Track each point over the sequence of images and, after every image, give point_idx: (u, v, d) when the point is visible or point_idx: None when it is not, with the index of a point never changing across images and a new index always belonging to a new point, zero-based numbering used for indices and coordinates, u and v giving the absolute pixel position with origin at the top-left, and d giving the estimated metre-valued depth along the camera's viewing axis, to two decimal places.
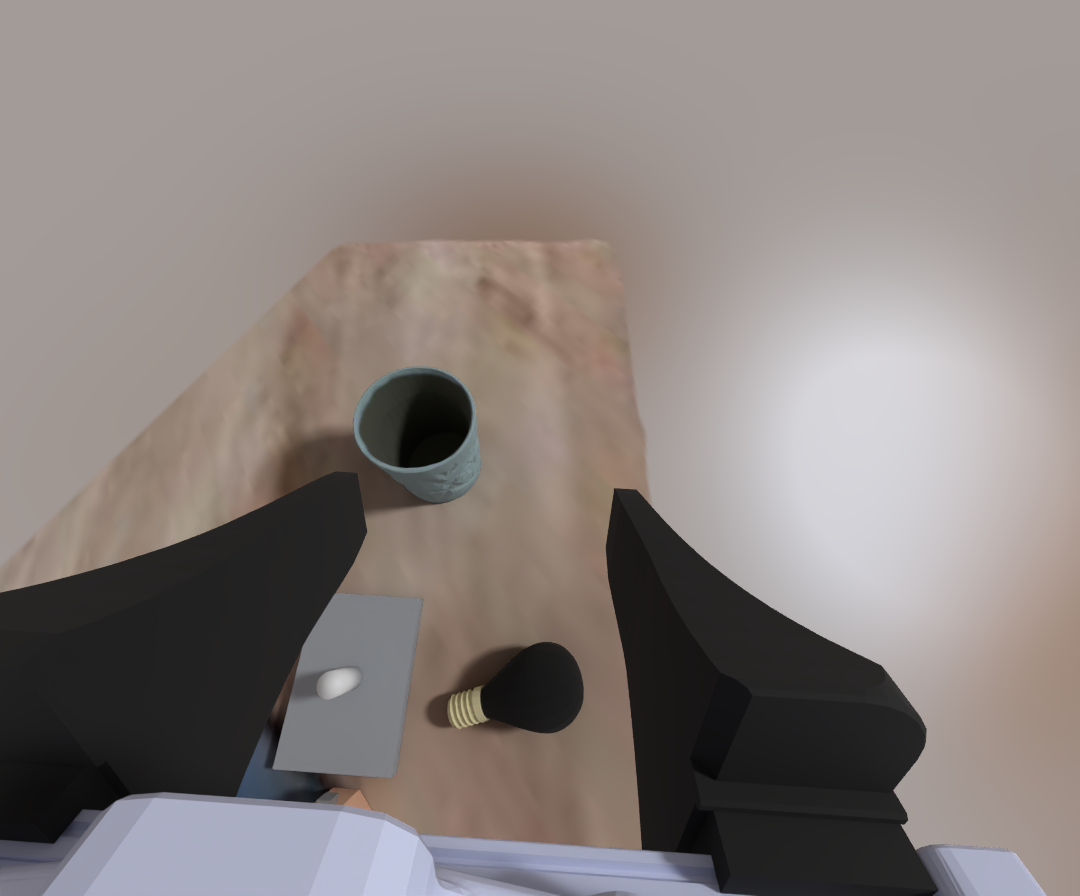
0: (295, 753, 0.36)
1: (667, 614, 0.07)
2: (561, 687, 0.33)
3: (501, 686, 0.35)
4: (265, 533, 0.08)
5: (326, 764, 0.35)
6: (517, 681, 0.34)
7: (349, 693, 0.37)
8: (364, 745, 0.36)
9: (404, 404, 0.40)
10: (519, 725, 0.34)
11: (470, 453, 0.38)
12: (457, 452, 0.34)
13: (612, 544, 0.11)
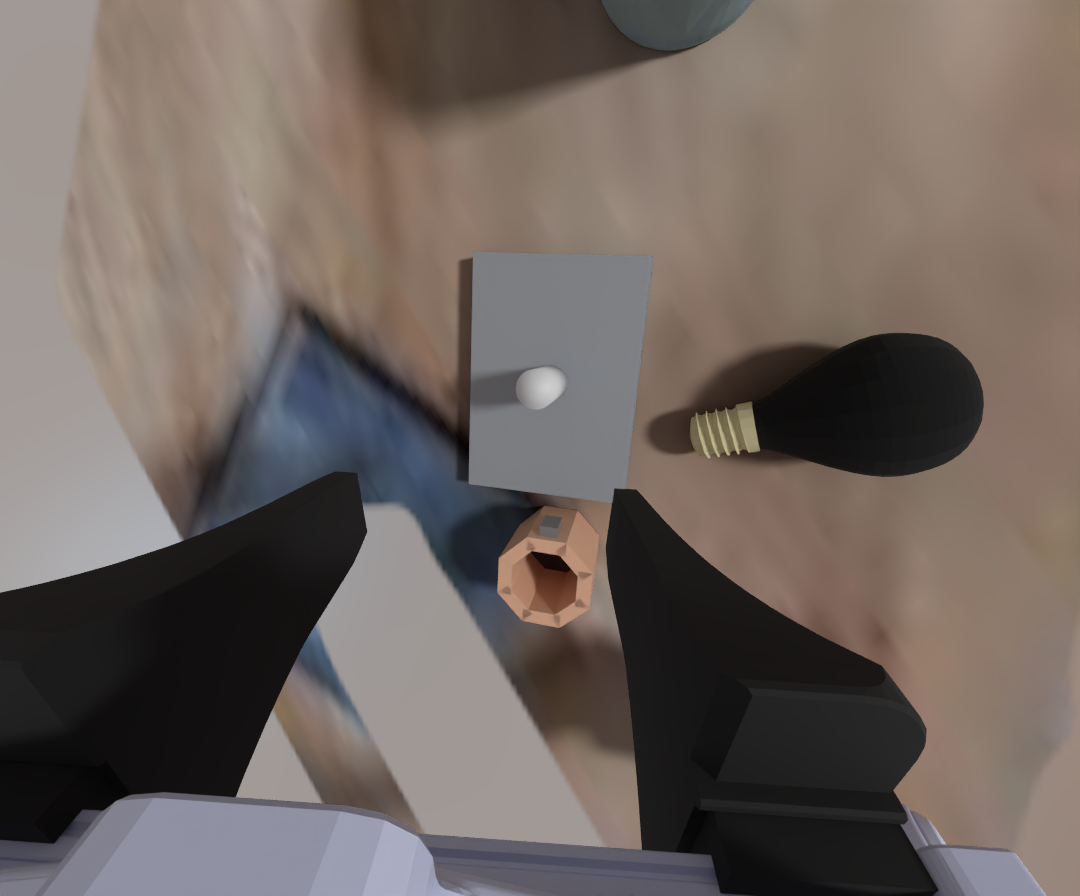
0: (492, 469, 0.27)
1: (667, 613, 0.07)
2: (965, 411, 0.17)
3: (809, 405, 0.19)
4: (265, 533, 0.08)
5: (534, 483, 0.27)
6: (857, 398, 0.18)
7: (551, 402, 0.25)
8: (581, 465, 0.26)
9: None
10: (835, 463, 0.20)
11: None
12: None
13: (612, 544, 0.11)
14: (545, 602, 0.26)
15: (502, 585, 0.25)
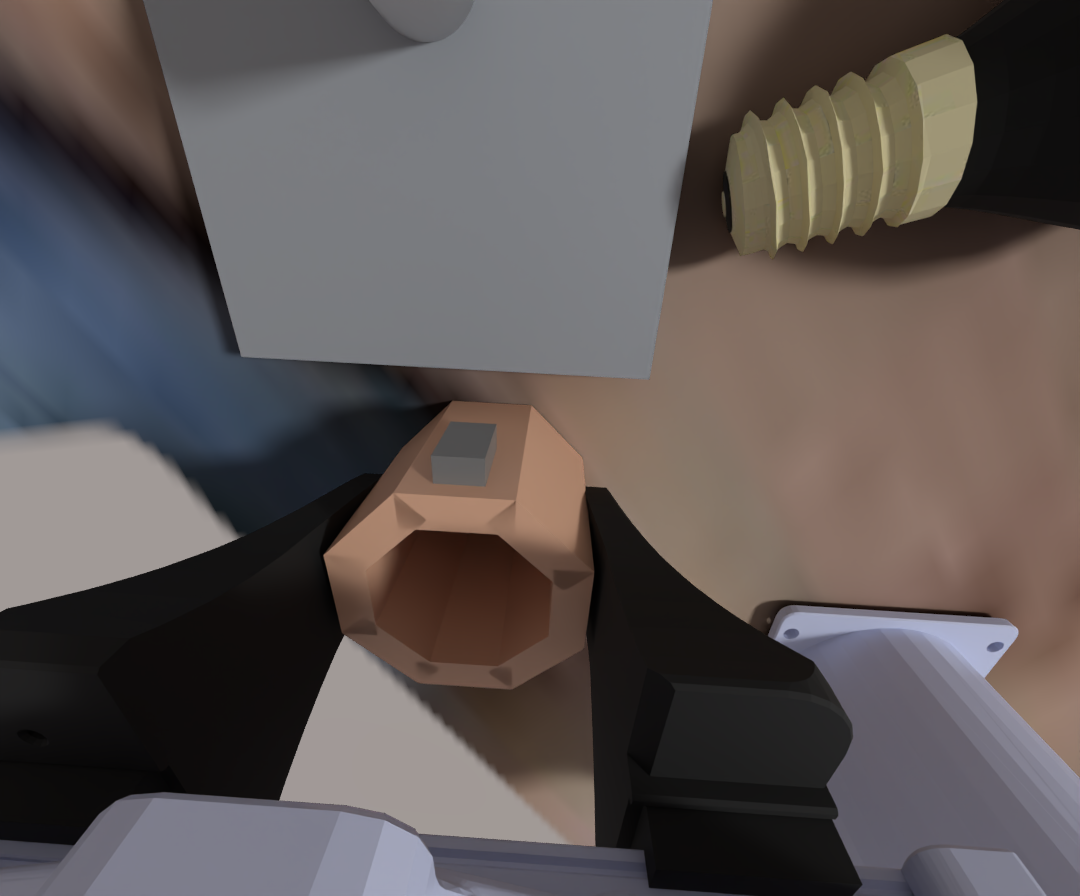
0: (294, 309, 0.10)
1: (616, 611, 0.07)
2: None
3: None
4: (306, 535, 0.08)
5: (417, 342, 0.10)
6: None
7: (432, 55, 0.08)
8: (539, 279, 0.09)
9: None
10: None
11: None
12: None
13: None
14: (473, 628, 0.11)
15: (351, 617, 0.09)
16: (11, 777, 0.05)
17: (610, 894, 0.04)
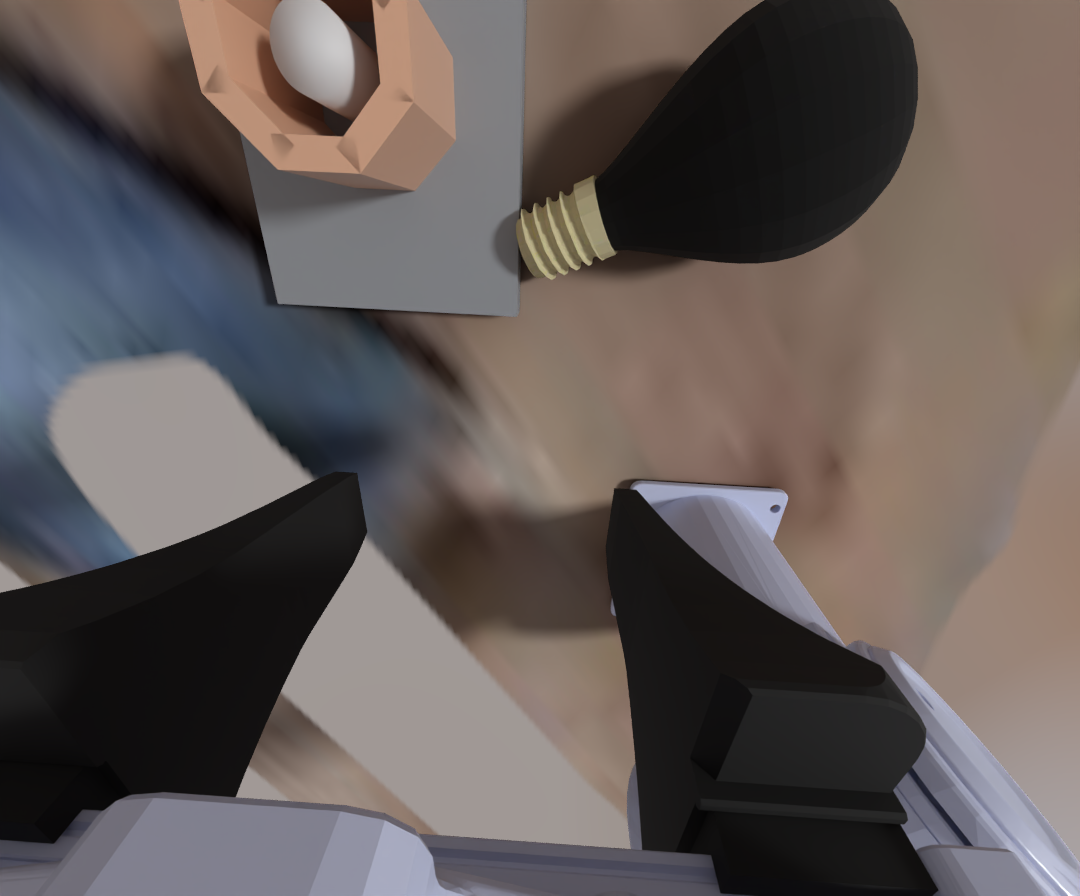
0: (309, 275, 0.17)
1: (667, 614, 0.07)
2: (892, 98, 0.10)
3: (664, 147, 0.12)
4: (265, 533, 0.08)
5: (380, 294, 0.17)
6: (730, 109, 0.11)
7: None
8: (447, 256, 0.17)
9: None
10: (710, 246, 0.13)
11: None
12: None
13: (612, 544, 0.11)
14: None
15: (266, 143, 0.11)
16: None
17: (610, 894, 0.04)
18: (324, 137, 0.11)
